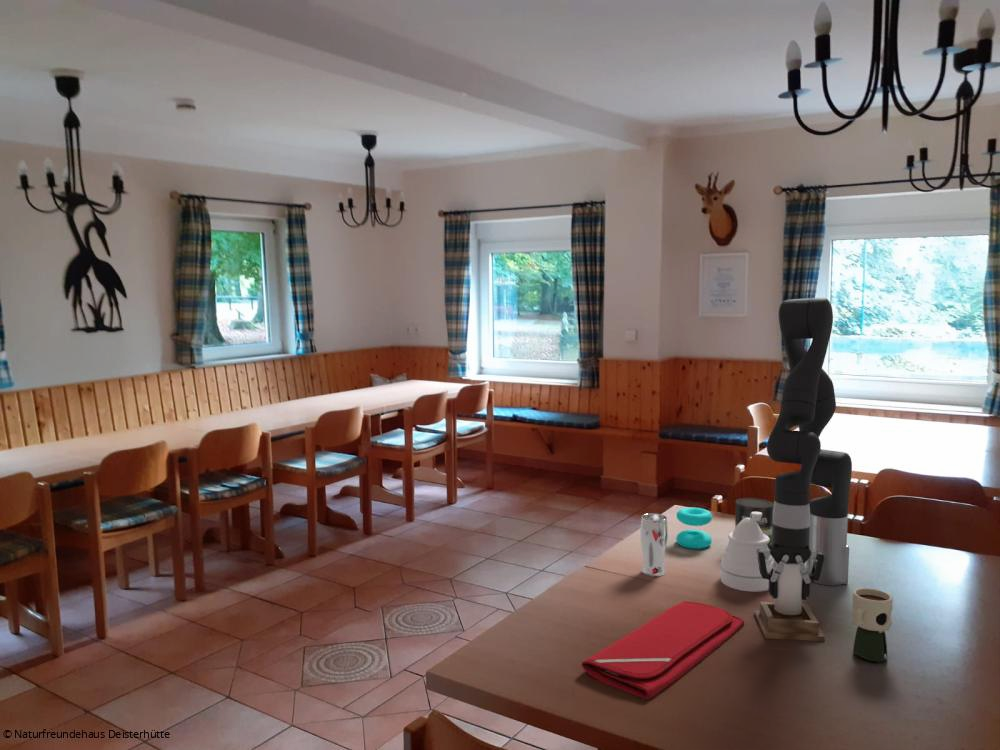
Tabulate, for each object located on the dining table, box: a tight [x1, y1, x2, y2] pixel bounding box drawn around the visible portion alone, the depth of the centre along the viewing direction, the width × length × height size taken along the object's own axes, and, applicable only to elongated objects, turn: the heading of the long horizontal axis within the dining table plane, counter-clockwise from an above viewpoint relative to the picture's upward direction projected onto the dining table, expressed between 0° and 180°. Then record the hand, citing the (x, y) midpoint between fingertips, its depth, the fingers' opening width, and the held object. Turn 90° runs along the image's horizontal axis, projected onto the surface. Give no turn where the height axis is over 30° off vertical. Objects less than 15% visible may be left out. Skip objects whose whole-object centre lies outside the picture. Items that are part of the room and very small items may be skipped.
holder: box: [753, 601, 826, 642], centre depth 165 cm, size 12×12×4 cm
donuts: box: [675, 506, 713, 550], centre depth 219 cm, size 10×10×10 cm
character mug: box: [851, 587, 894, 662], centre depth 151 cm, size 11×7×13 cm, turn 126°
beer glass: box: [640, 513, 669, 577], centre depth 197 cm, size 7×7×15 cm
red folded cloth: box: [581, 601, 745, 701], centre depth 156 cm, size 16×41×4 cm, turn 139°
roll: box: [773, 561, 803, 615], centre depth 164 cm, size 6×6×11 cm
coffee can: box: [734, 497, 774, 549], centre depth 213 cm, size 10×10×14 cm
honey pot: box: [720, 512, 774, 593], centre depth 190 cm, size 13×13×18 cm
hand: (788, 597), depth 164 cm, fingers closed on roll, 5 cm apart
